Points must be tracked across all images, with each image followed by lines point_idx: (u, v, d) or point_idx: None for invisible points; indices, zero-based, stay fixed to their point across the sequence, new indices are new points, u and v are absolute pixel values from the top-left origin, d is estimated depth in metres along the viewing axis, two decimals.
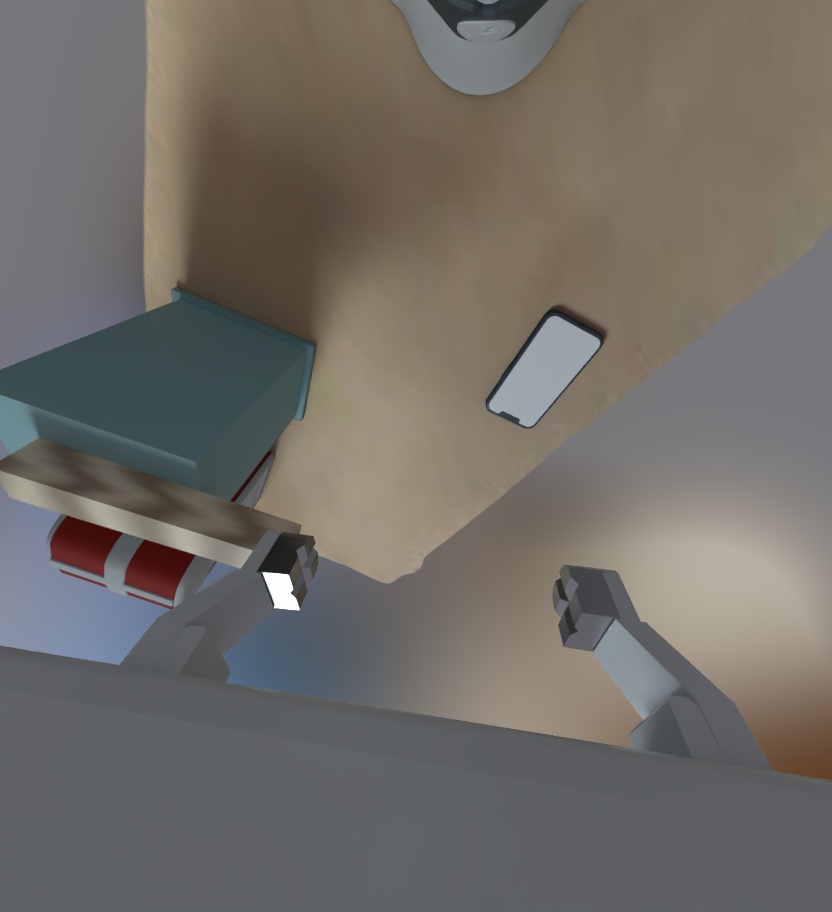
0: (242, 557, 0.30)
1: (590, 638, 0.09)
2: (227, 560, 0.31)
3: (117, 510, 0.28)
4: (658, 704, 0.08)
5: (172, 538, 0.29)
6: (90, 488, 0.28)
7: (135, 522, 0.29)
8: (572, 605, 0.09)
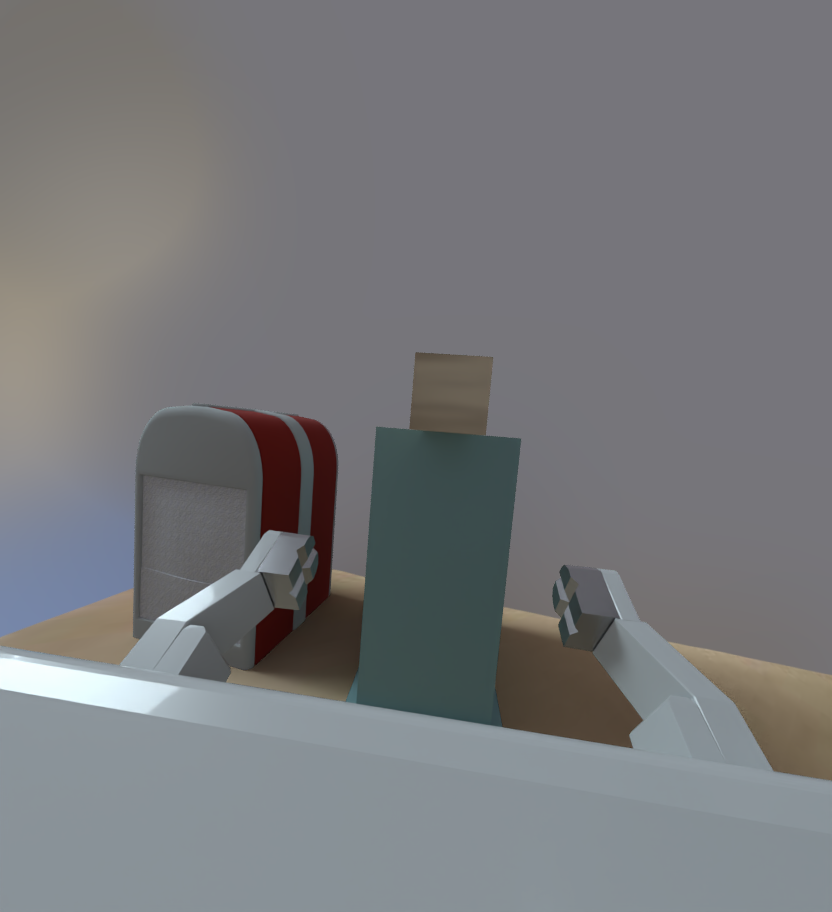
0: None
1: (590, 638, 0.09)
2: None
3: None
4: (658, 704, 0.08)
5: None
6: None
7: None
8: (572, 605, 0.09)
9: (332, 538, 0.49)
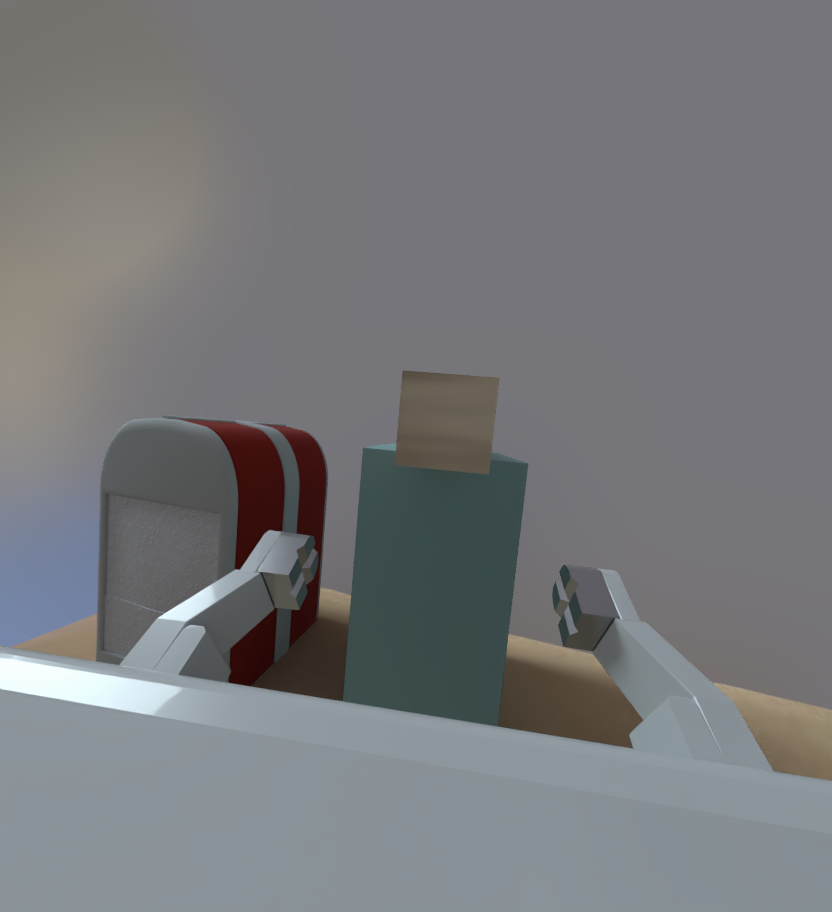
0: None
1: (590, 638, 0.09)
2: None
3: None
4: (658, 704, 0.08)
5: None
6: None
7: None
8: (572, 605, 0.09)
9: (321, 557, 0.46)
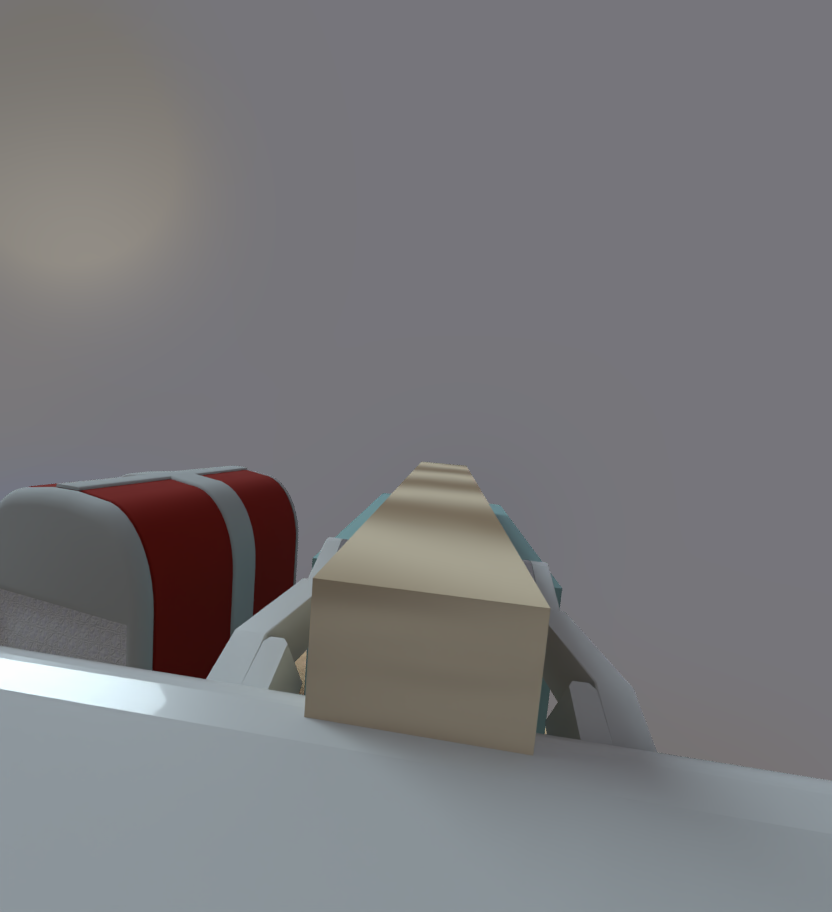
0: (443, 530, 0.09)
1: None
2: (399, 513, 0.11)
3: (467, 480, 0.20)
4: None
5: (434, 490, 0.15)
6: None
7: (449, 482, 0.18)
8: None
9: None
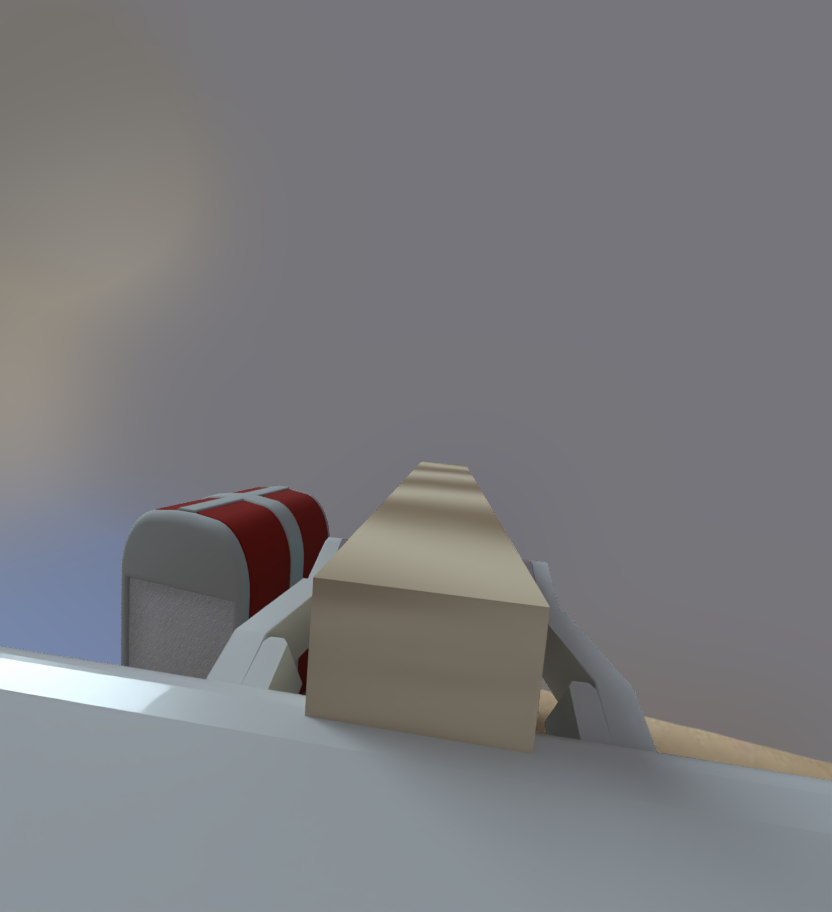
0: (443, 530, 0.09)
1: None
2: (399, 512, 0.11)
3: (467, 480, 0.20)
4: None
5: (434, 490, 0.15)
6: None
7: (449, 481, 0.18)
8: None
9: None
